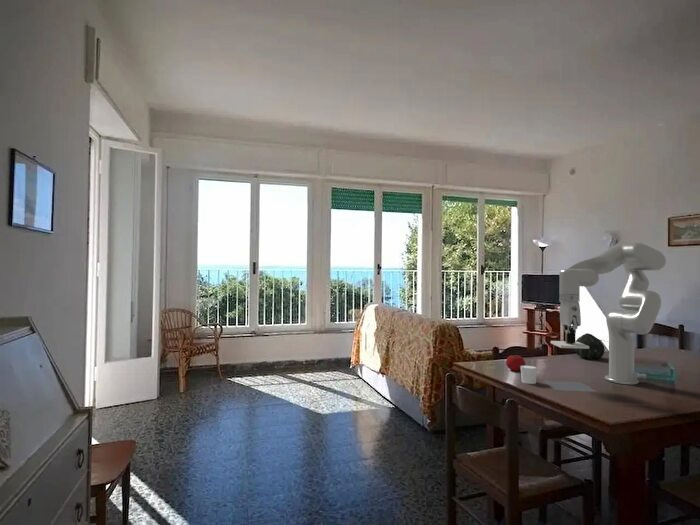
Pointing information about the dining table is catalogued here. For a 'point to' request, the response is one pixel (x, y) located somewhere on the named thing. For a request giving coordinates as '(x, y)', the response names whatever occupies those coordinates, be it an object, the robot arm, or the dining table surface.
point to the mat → (569, 386)
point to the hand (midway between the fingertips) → (569, 341)
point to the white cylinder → (528, 374)
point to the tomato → (515, 362)
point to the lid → (569, 345)
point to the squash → (590, 347)
